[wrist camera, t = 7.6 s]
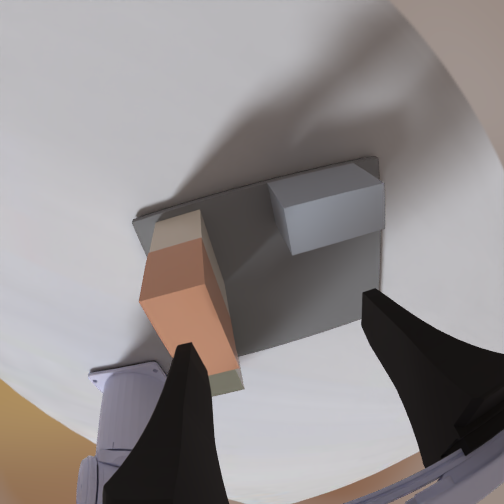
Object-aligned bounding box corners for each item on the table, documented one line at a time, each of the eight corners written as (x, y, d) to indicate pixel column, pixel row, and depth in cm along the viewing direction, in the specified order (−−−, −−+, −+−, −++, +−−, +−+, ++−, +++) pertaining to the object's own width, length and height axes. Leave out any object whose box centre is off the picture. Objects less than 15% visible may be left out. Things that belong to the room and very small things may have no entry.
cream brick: (224, 282, 23) (230, 320, 20) (185, 293, 23) (185, 331, 19) (199, 209, 20) (201, 239, 16) (155, 222, 20) (148, 255, 16)
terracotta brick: (230, 318, 19) (239, 368, 16) (185, 329, 19) (187, 380, 16) (201, 237, 16) (204, 283, 13) (148, 252, 16) (138, 301, 13)
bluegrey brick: (353, 163, 20) (384, 183, 16) (356, 202, 21) (384, 228, 18) (267, 183, 20) (283, 208, 16) (275, 224, 21) (292, 255, 18)
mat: (374, 309, 28) (377, 313, 28) (201, 361, 28) (202, 365, 27) (374, 155, 20) (378, 157, 20) (133, 219, 20) (131, 222, 19)
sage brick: (237, 353, 27) (244, 389, 24) (205, 361, 27) (209, 397, 24) (218, 305, 24) (224, 343, 21) (181, 315, 24) (182, 353, 20)
